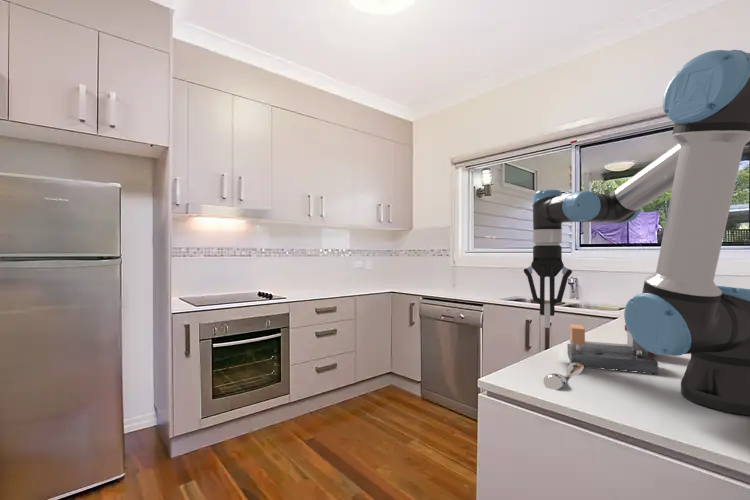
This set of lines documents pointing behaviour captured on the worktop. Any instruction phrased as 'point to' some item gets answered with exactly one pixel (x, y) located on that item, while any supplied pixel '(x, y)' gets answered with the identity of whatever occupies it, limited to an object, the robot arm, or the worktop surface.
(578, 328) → the block
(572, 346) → the bar
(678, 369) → the worktop surface
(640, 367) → the hole plate
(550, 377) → the grey spoon
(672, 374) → the worktop surface
